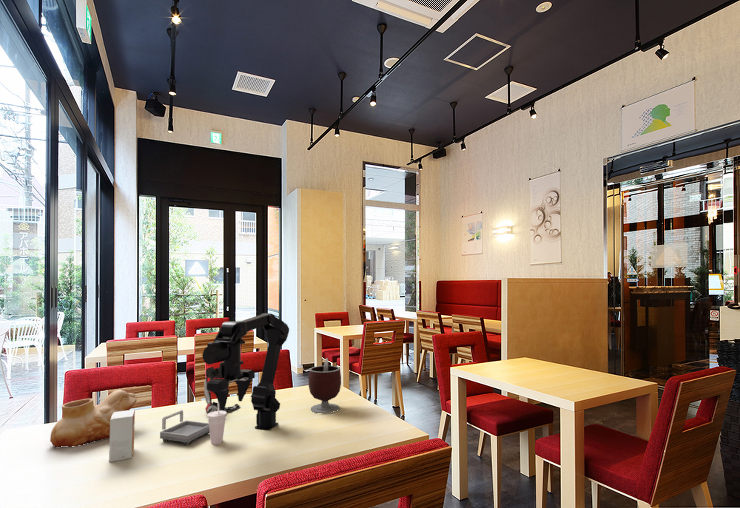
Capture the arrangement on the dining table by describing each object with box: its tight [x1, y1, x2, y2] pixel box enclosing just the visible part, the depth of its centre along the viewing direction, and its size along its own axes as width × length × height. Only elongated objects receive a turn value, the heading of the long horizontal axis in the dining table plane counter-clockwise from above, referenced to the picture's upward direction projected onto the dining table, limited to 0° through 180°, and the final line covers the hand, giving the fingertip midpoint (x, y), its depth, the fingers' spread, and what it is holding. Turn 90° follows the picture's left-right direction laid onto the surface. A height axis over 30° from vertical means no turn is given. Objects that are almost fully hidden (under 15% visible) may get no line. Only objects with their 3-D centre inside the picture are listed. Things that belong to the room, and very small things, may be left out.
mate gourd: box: [308, 357, 342, 414], centre depth 176 cm, size 16×14×20 cm
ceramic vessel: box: [49, 388, 137, 448], centre depth 148 cm, size 14×26×15 cm, turn 137°
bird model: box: [203, 376, 241, 415], centre depth 172 cm, size 20×14×15 cm
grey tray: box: [159, 409, 210, 446], centre depth 145 cm, size 13×12×8 cm
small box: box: [108, 409, 136, 463], centre depth 131 cm, size 8×6×13 cm
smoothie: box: [206, 401, 227, 445], centre depth 141 cm, size 6×6×14 cm
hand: (231, 405), depth 139 cm, fingers open, 9 cm apart
